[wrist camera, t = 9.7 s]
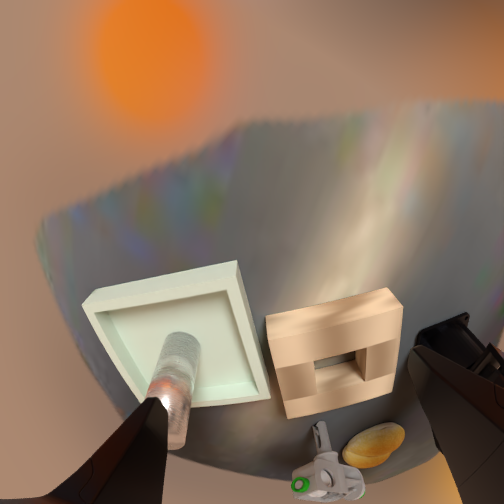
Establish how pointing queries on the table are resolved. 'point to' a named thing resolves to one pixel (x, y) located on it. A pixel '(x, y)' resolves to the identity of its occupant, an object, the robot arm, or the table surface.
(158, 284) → the parts tray
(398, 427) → the bread roll
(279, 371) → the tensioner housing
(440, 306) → the table surface
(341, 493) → the mechanical component
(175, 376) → the pin
